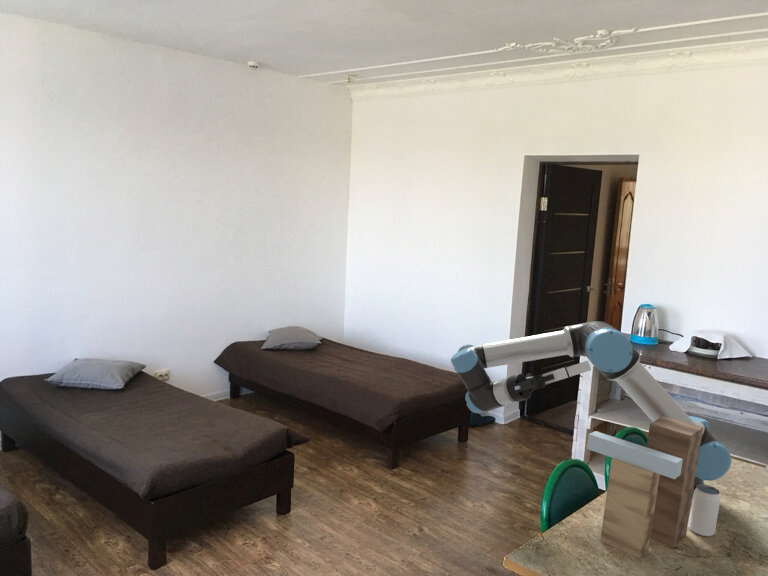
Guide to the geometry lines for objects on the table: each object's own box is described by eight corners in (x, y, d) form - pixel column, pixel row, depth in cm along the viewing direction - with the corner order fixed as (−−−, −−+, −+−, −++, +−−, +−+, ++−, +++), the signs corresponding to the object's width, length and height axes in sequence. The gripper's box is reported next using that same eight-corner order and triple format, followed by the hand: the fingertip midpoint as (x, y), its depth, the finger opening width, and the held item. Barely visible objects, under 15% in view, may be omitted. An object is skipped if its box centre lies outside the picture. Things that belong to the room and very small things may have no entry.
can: (717, 539, 165) (724, 496, 163) (691, 534, 166) (698, 492, 164) (710, 527, 171) (717, 486, 169) (685, 522, 172) (691, 482, 171)
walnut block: (648, 519, 172) (663, 416, 168) (686, 535, 165) (703, 427, 161) (634, 531, 165) (649, 423, 161) (673, 548, 158) (690, 435, 154)
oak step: (610, 532, 163) (621, 453, 160) (648, 549, 156) (661, 466, 153) (600, 540, 159) (611, 459, 156) (639, 558, 152) (652, 473, 149)
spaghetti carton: (586, 448, 161) (588, 434, 161) (593, 445, 164) (595, 430, 164) (674, 479, 147) (677, 463, 146) (680, 474, 149) (682, 459, 149)
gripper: (539, 394, 186) (603, 375, 172) (493, 410, 168) (560, 390, 154) (530, 370, 188) (593, 349, 174) (484, 383, 170) (549, 361, 156)
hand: (577, 368), depth 164 cm, fingers open, 13 cm apart
